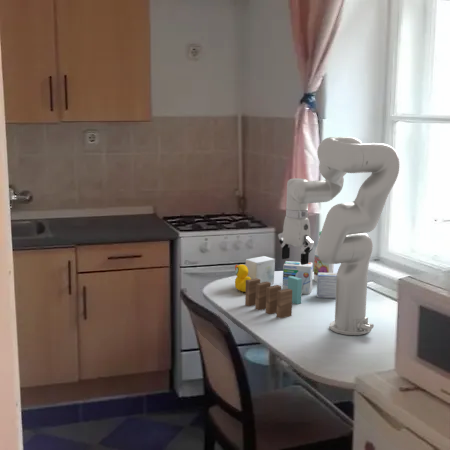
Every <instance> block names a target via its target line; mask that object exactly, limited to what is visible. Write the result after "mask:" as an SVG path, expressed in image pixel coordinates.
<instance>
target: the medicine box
mask: <svg viewBox="0 0 450 450" xmlns="http://www.w3.org/2000/svg"><path fill="white" fill-rule="evenodd" d="M336 280H337V272H333V273H318V277H317V283H316V298H320V299H324V298H325V299H336Z"/></svg>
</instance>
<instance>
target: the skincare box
mask: <svg viewBox="0 0 450 450" xmlns="http://www.w3.org/2000/svg"><path fill="white" fill-rule="evenodd" d="M275 263H276V258H273V257H269V256H265V255H262V256H257V257H252V258H246V259H245V264H244V265H245V266H247V268H248V275H247V277H250V278H251V279H255V278H258V279H260V283H262V282H270V283H271V286H273V285H275V270H276V269H275V267H276V266H275V265H276V264H275Z"/></svg>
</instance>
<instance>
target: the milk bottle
mask: <svg viewBox="0 0 450 450" xmlns="http://www.w3.org/2000/svg"><path fill="white" fill-rule="evenodd" d="M321 231H322V230H320V231H319V237H320V234H321ZM319 237H318V238H319ZM314 250H315V251H314V259H313V261H314V262H313V281H314V282H317V277H318V273H334V265H335V264H326V263H324V262H322V261H321V260H320V258H319V256H318V253H317V246H316V247H315V249H314Z"/></svg>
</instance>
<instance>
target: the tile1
mask: <svg viewBox="0 0 450 450" xmlns="http://www.w3.org/2000/svg"><path fill="white" fill-rule="evenodd" d="M292 313H293V303H292V290H291V289H284V290H282V289H281V290H279V291H277V313H276V318H278V319H284V318H287V317H292Z"/></svg>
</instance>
